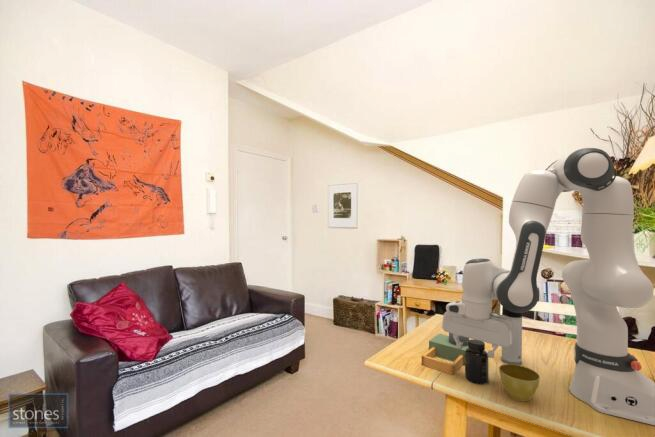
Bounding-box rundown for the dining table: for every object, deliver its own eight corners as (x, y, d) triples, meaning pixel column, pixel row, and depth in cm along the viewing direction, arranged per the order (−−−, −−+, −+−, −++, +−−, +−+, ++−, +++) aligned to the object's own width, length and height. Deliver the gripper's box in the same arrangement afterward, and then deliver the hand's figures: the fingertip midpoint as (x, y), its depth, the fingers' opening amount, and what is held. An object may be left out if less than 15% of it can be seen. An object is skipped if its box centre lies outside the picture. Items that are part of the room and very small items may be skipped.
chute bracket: (463, 364, 110) (463, 355, 110) (453, 375, 103) (453, 365, 103) (432, 355, 118) (432, 347, 118) (421, 364, 110) (421, 356, 110)
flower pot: (502, 383, 98) (502, 360, 98) (541, 395, 92) (541, 370, 92) (495, 397, 90) (495, 372, 90) (537, 411, 84) (537, 385, 84)
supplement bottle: (483, 374, 103) (483, 338, 103) (492, 385, 96) (492, 347, 96) (461, 373, 104) (462, 337, 104) (469, 384, 97) (469, 345, 97)
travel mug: (525, 366, 109) (526, 309, 109) (504, 364, 111) (505, 307, 110) (518, 358, 115) (519, 304, 115) (498, 356, 117) (499, 303, 117)
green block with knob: (476, 356, 117) (476, 329, 117) (467, 365, 109) (468, 337, 109) (438, 345, 126) (439, 321, 126) (428, 353, 119) (429, 327, 119)
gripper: (515, 314, 96) (513, 359, 96) (447, 301, 109) (446, 340, 109) (511, 319, 91) (509, 366, 91) (441, 304, 104) (439, 346, 104)
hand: (474, 352), depth 100 cm, fingers open, 8 cm apart
